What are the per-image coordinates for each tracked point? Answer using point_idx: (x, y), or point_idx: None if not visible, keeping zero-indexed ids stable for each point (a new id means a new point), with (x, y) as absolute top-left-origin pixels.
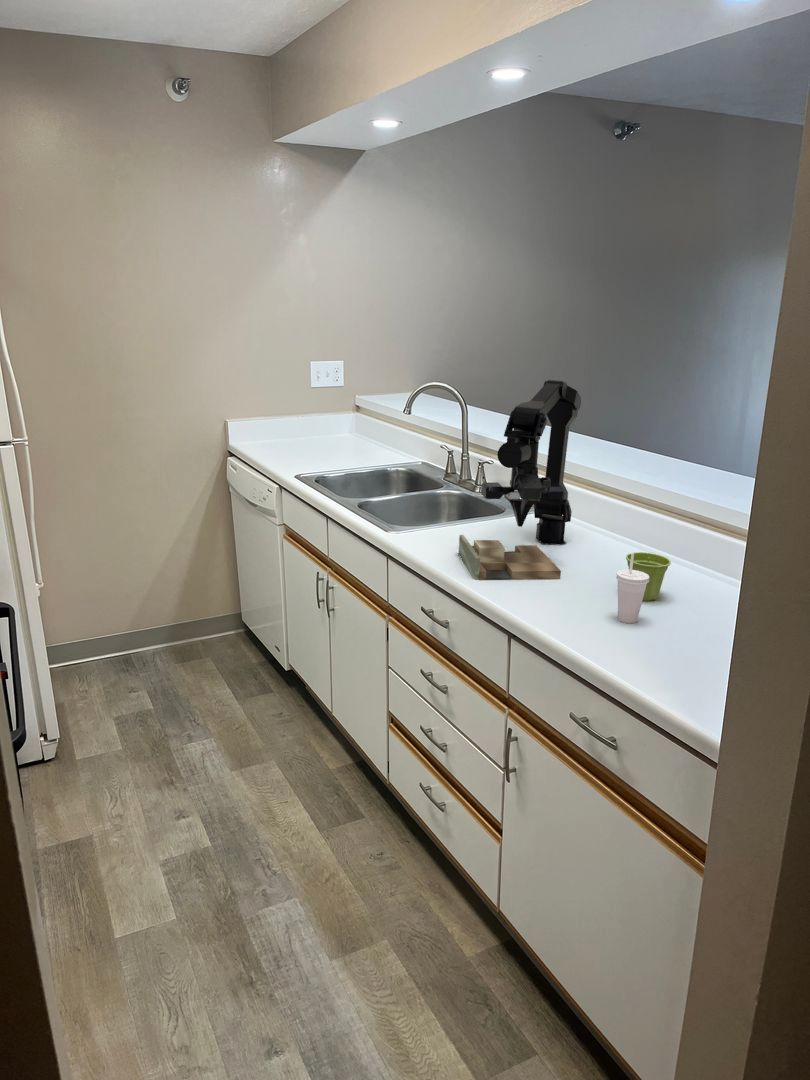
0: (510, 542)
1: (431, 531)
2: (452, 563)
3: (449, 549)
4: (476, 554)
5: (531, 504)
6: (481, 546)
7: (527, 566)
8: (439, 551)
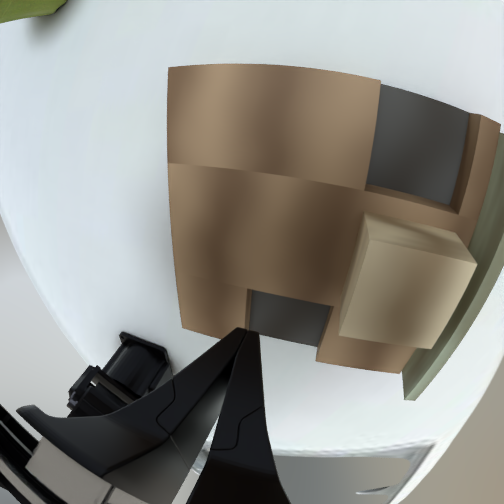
0: None
1: (364, 443)
2: None
3: None
4: None
5: (100, 427)
6: (461, 276)
7: (286, 126)
8: None
